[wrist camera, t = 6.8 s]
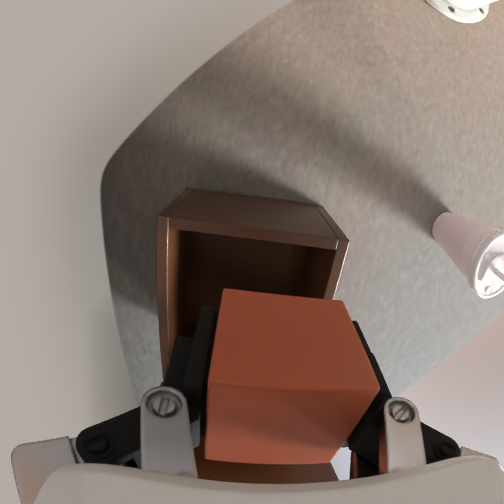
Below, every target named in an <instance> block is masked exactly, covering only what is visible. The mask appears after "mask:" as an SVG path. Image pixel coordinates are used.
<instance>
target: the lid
mask: <svg viewBox="0 0 504 504" xmlns="http://www.w3.org/2000/svg"><path fill="white" fill-rule="evenodd" d="M163 383H164V382H162V383H161V385H160V386H163ZM194 456H195V462H196V468H197V474H198V479H204V480H213V481H222V482H235V483H252V484H302V483H319V482H331V481H339V479H338V477H337V475H336V473H335V471H334V469H333V467H332V465H331V463H330V462H329V463H317V464H254V463H238V462H226V461H217V460H208V459H205V436H202V437H201V443H199V446H197V447H195V448H194Z"/></svg>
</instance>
